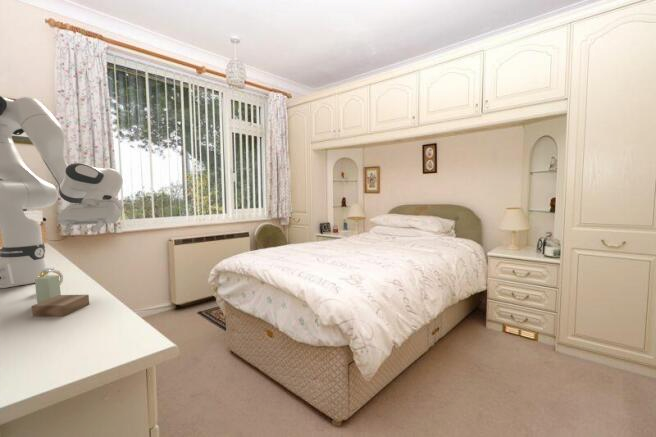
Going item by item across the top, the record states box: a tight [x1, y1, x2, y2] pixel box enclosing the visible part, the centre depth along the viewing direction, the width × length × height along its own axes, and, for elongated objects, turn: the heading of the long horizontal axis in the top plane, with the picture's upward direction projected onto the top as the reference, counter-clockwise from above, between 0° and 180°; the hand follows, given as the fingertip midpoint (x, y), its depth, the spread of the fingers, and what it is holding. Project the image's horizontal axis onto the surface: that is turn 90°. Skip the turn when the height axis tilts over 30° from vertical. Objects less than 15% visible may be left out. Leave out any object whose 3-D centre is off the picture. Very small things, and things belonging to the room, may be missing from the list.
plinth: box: [31, 294, 90, 317], centre depth 92 cm, size 9×9×3 cm
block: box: [34, 274, 62, 304], centre depth 99 cm, size 4×4×8 cm
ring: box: [38, 267, 64, 286], centre depth 111 cm, size 7×3×8 cm, turn 140°
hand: (79, 232), depth 111 cm, fingers open, 8 cm apart
